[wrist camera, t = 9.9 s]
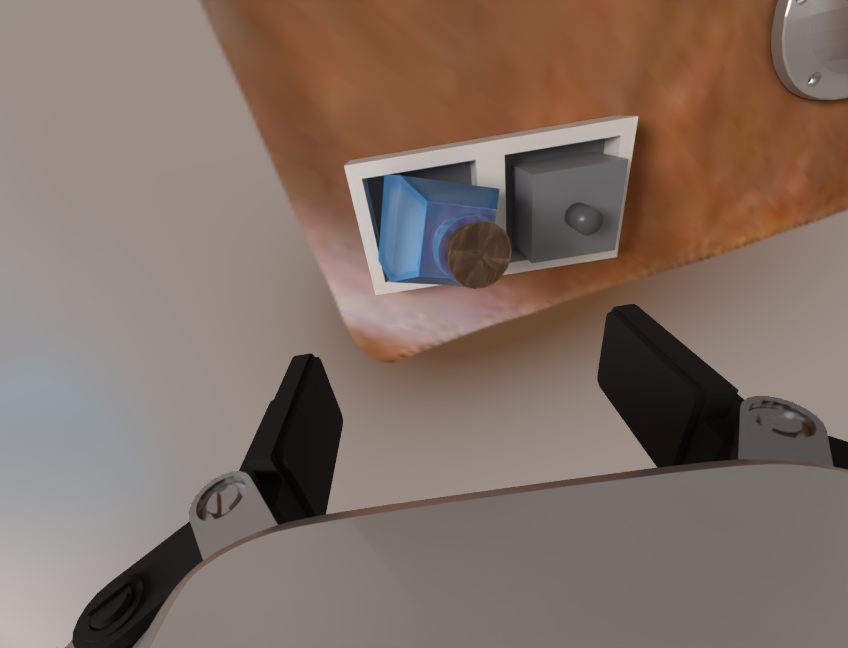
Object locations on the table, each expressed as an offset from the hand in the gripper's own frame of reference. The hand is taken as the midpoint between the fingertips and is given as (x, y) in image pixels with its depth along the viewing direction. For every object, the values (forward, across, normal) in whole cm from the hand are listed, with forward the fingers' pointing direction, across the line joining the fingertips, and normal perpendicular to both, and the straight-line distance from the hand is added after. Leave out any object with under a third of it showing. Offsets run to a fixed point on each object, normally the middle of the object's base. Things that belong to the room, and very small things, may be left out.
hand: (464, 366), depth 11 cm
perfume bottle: (+18, +1, 0) cm, 18 cm away
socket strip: (+20, -5, 0) cm, 21 cm away
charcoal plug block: (+19, -10, 0) cm, 22 cm away
